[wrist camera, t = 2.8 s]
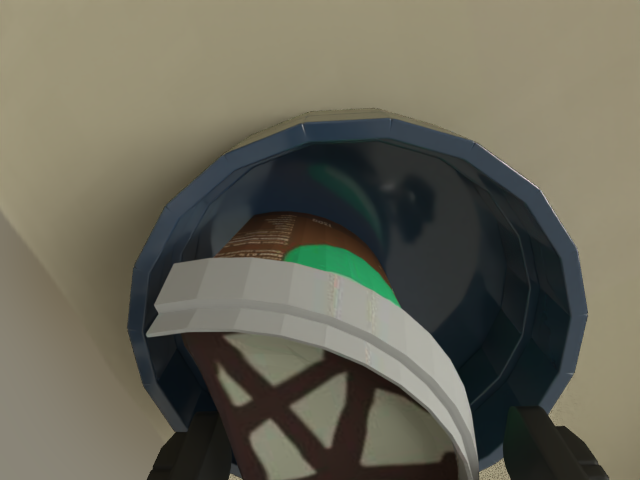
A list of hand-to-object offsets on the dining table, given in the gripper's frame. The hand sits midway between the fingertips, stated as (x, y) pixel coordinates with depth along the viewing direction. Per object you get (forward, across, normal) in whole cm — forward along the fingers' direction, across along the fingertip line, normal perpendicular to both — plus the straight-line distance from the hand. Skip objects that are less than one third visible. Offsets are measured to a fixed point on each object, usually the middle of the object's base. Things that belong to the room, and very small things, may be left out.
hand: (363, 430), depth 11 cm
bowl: (+8, 0, 0) cm, 8 cm away
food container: (+8, 0, 0) cm, 8 cm away
